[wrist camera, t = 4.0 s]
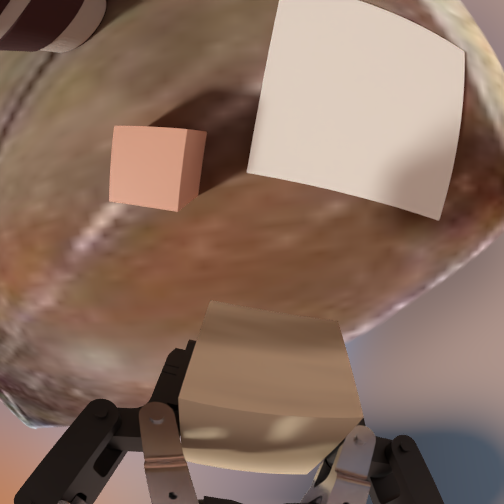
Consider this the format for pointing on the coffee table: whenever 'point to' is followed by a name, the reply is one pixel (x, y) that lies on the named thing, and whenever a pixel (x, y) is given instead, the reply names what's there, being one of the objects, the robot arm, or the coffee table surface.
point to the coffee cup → (48, 24)
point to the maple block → (266, 391)
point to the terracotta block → (156, 166)
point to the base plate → (359, 104)
